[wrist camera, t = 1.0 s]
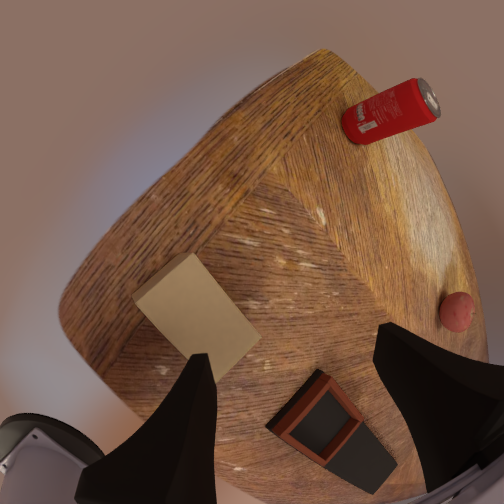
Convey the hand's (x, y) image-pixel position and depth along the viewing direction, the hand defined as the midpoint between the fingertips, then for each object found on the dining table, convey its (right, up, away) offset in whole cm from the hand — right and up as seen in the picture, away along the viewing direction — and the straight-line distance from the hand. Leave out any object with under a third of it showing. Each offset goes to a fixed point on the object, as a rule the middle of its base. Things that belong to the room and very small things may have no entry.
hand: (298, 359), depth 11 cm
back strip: (+14, -26, +21) cm, 36 cm away
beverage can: (+11, +20, +21) cm, 31 cm away
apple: (+34, -7, +33) cm, 47 cm away
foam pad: (-7, 0, +11) cm, 13 cm away
